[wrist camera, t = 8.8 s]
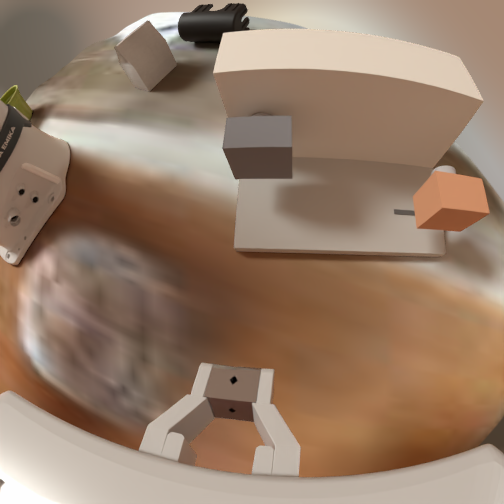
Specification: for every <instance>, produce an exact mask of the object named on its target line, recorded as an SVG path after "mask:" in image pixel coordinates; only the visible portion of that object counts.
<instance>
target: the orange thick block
mask: <svg viewBox="0 0 504 504" xmlns="http://www.w3.org/2000/svg"><path fill="white" fill-rule="evenodd" d="M413 203H414V211H415V219H416V228H417V229H432V230H446V231H462V230H464V229H465V228H467V227H469V226H470V225H472V224H474V223H475V222H477V221H478V220H480V219H482V218H483V217H485V216H486V215H488V214H489V208H488V203H487V198H486V194H485V189H484V185H483V181H482V179H480V178H475V177H470V176H465V175H459V174H456V171H455V168H454V167H452V166H439V167H437V168H435V169H434V170H433V171H432V172H431V176H430V177H429V178H428V180H427V181H426V182H425V183H424V184H423V185H422V186H421V188H420V189H419V190H418V191H417V192H416V193H415V194H414V196H413Z"/></svg>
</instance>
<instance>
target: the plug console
mask: <svg viewBox="0 0 504 504" xmlns="http://www.w3.org/2000/svg"><path fill="white" fill-rule="evenodd" d="M213 74H214V77H215V80H216V83H217V86H218V89H219V92H220V95H221V98H222V101H223V104H224V107H225V110H226V113H227V116H228V118H230V117H249V116H252V115H254V114H256V113H268V114H271V115H273V116H291V118H292V179H239V188H238V199H237V212H236V224H235V237H234V249H235V250H236V251H242V252H278V253H314V254H349V255H385V256H421V257H441V256H443V255H445V254H446V246H445V236H444V230H432V229H417V228H416V219H415V211H414V203H413V196H414V194H415V193H416V192H417V191H418V190H419V189H420V188H421V186H422V185H423V184H424V183H425V182H426V181H427V180H428V178H429V177H430V176H431V172H432V171H433V168H434V166H435V165H436V164H437V163H438V161H439V160H440V159H441V158H442V156H443V155H444V154H445V153H446V151H447V150H448V149H449V148H450V146H451V145H452V144H453V142H454V141H455V140H456V138H457V137H458V136H459V135H460V133H461V132H462V131H463V129H464V128H465V126H466V125H467V124H468V123H469V121H470V120H471V118H472V117H473V116H474V114H475V113H476V111H477V110H478V109H479V107H480V106H481V104H482V103H483V99H482V97H481V95H480V93H479V91H478V89H477V87H476V85H475V83H474V82H473V80H472V78H471V76H470V74H469V73H468V71H467V69H466V67H465V66H464V64H463V63H462V61H461V59H460V58H459V57H458V56H455V55H452V54H449V53H446V52H443V51H439V50H436V49H433V48H429V47H425V46H422V45H418V44H414V43H409V42H405V41H401V40H396V39H391V38H386V37H380V36H374V35H368V34H360V33H353V32H343V31H332V30H316V29H264V30H248V31H237V32H228V33H223V36H222V39H221V43H220V47H219V51H218V55H217V59H216V63H215V67H214V71H213Z"/></svg>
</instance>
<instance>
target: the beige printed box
mask: <svg viewBox="0 0 504 504" xmlns="http://www.w3.org/2000/svg"><path fill="white" fill-rule="evenodd" d="M114 48H115V50H116V53H117V56H118V59H119V63H120V65H121V67H122V68H123V70H124V71H125V73H126V74H127V76H128V77H129V79H130V80H131V82H132V83H133V85H134V86H135V88H138V89H141V90H145V91H148V92H150V91H151V90H152V89H153V88H154V87H155V86H156V85H157V84H158V83H159V82H160V81H161V80H162V79H163V78H164V77H165V76H166V75H167V74H168V73H169V72H170V71H171V70H172V69H173V68H175V67H176V66H177V63H176V61H175V59H174V57H173V55H172V53H171V51H170V48H169V46H168V44H167V42H166V40H165V39H164V38H163V36H162V35H161V34H160V33H159V32H158V31H157V30H156V29H155V28H154V26H153V25H152V24H151V23H150V21H148V20H147V21H146V22H145V23H143V24H142V25H141V26H139V27H138V28H137V29H136V30H134V31H133V32H132V33H131V34H129V35H128V36H127V37H126V38H125V39H123V40H122V41H121V42H120V43H119V44H117V45H116V46H115V47H114Z"/></svg>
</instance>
